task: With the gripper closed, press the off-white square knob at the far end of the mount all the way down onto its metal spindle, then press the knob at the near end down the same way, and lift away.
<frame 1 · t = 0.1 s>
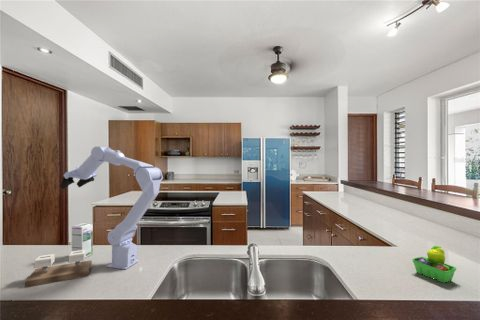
hand: (70, 186, 101), 32 cm above the worktop, tool tilted 50°, fingers open, 7 cm apart
knob inner: (77, 255, 87), point 6 cm above the worktop, slide at 0.0 cm
fruit basket: (434, 276, 86), on the worktop
knob outer: (45, 260, 82), point 6 cm above the worktop, slide at 0.0 cm
syrup box: (82, 256, 102), on the worktop
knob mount: (61, 275, 85), on the worktop
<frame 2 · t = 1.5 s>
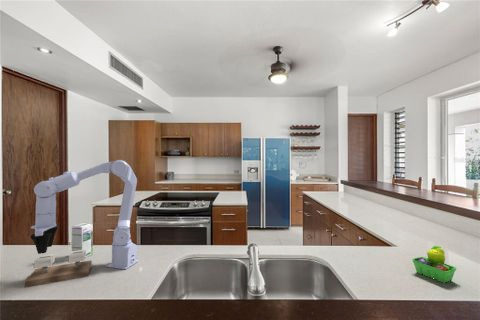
hand: (45, 249, 83), 10 cm above the worktop, tool pointing down, fingers open, 6 cm apart
nothing on the worktop moved.
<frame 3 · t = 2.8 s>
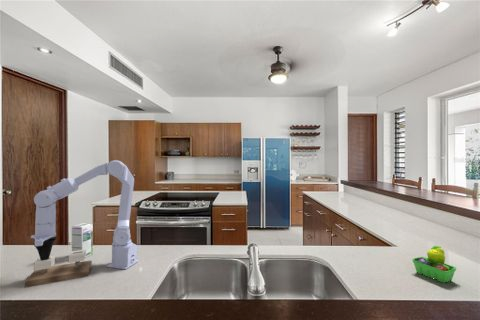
hand: (44, 259, 82), 7 cm above the worktop, tool pointing down, fingers closed, pressing on knob outer
knob outer: (44, 262, 82), point 6 cm above the worktop, slide at 0.8 cm, touching gripper
everything else where it was.
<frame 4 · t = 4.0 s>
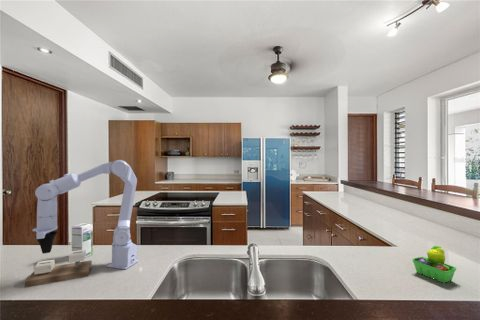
hand: (46, 252, 83), 9 cm above the worktop, tool pointing down, fingers closed
knob outer: (44, 266, 82), point 4 cm above the worktop, slide at 2.2 cm
everything else where it was.
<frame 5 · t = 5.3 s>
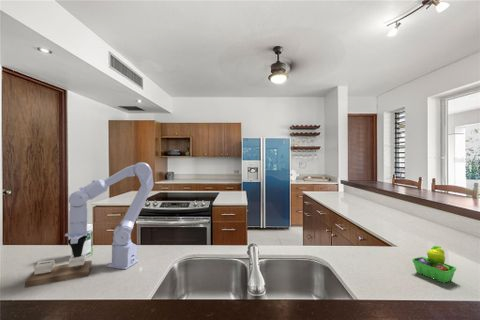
hand: (77, 256, 87), 6 cm above the worktop, tool pointing down, fingers closed, pressing on knob inner
knob inner: (77, 259, 87), point 5 cm above the worktop, slide at 1.5 cm, touching gripper
everything else where it was.
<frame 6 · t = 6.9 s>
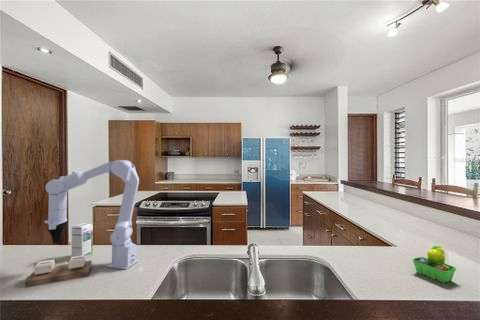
hand: (57, 242, 90), 10 cm above the worktop, tool pointing down, fingers closed
knob inner: (77, 261, 87), point 4 cm above the worktop, slide at 2.2 cm
everything else where it was.
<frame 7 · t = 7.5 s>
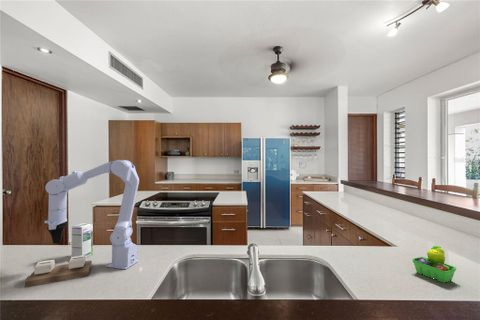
hand: (57, 242, 90), 10 cm above the worktop, tool pointing down, fingers closed
nothing on the worktop moved.
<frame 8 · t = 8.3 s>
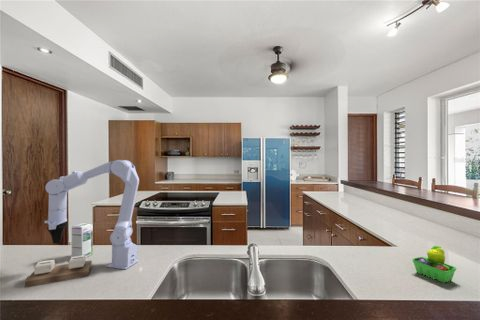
hand: (57, 242, 90), 10 cm above the worktop, tool pointing down, fingers closed
nothing on the worktop moved.
at the end: knob outer slide at 2.2 cm; knob inner slide at 2.2 cm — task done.
